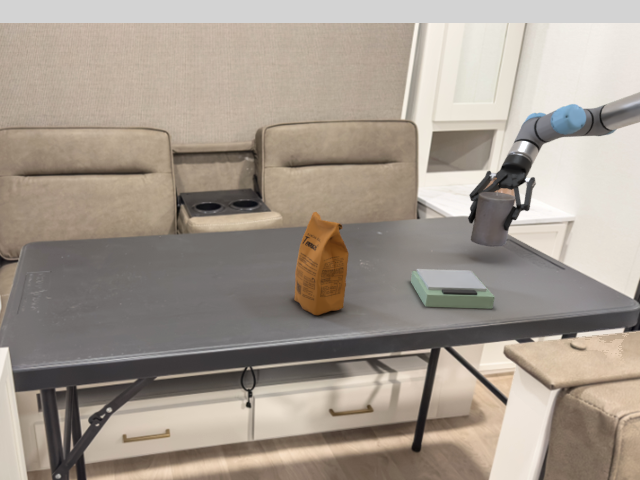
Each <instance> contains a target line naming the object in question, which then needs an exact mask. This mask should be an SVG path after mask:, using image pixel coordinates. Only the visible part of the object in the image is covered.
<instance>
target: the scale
mask: <svg viewBox="0 0 640 480" xmlns="http://www.w3.org/2000/svg"><path fill="white" fill-rule="evenodd" d="M410 283H411V285H412V287H413V288H414V290H415V292H416V294H417V295H418V297H419V298H420V300H421V302H422V304H423V305H424V307H426V308H453V309H455V308H456V309H488V310H491V309H492V310H493V307H494V303H495V297H496V296H495V295H494V294H493V293H492V292H491V291H490V290H489V288H488V287H487V286H486V285H485V284H484V282H482V281H481V279H480V278H479V277H478V276H477V275H476V273H474V272H473V270H471V269H470V270H467V269H438V268H437V269H433V268H431V269H430V268H416V270H411V277H410Z"/></svg>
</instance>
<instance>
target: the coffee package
mask: <svg viewBox="0 0 640 480" xmlns="http://www.w3.org/2000/svg"><path fill="white" fill-rule="evenodd" d="M342 229H343V225H342V224H341V223H339V222H335V221H329V220H325V219H324V220H323V219H322V217H321V215H320V213H318V212H317V211H313V212H312V214H311V217H310V220H309V221H308V223H307V226H306V229H305V232H304V234H303V236H302V239H301V242H300V244H299V247H298V248H299V249H298V254H297V255H298V256H297V260H296V265H295V266H296V267H295V272H294V274H295V275H294V276H295V278H294V280H295V282H294V283H295V284H294V301H295V302H296V303H299V305H300V306H301V308H302V310H304V311H305V312H307V313H310V314H312V315H313V316H321V315H323V314H326V313H329V312H333V311H340V310H342V309H344V303H345V296H346V295H345V294H346V288H347V275H348V263H349V255H350V253H349V251H348V247H347V245H346V244H345V241H344V239H343V238H342V234H341V232H340V230H342Z"/></svg>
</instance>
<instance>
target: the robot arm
mask: <svg viewBox="0 0 640 480" xmlns="http://www.w3.org/2000/svg"><path fill="white" fill-rule="evenodd" d="M638 123H640V91H638V92H636V93H633V94H630V95H628V96H625V97H622V98H619V99H617V100H614V101H611V102H609V103H606V104H603V105H599V106H597V107H593V108H583V107H582V106H579V105H578V104H576V103H571V104H568V105H565V106H561V107H559V108H557V109H556V110H553V111H551V112H549V113H547V114H546V113H544V112H533V113H530V114H529V115H528V116H527V117H526V118H525V120H524V121H523V123H522V125H521V126H520V129H519V131H518V133H517V135H516V137H515V139H514V141H513V144H512V145H511V147H510V149H509V151H508V153H507V154H506V157H505V158H504V161H503V163H502V164H501V167H500V169H499V170H498V171H497V172H492V171H491V170H487V171H486V173H485V175H484V177H483V178H482V179H481V181H479V183H478V184H477V185H476V187H475V188H474V189H473V190H471V192H470V193H469V194H468V195H469V198H470V201H471V202H472V203H471V205H470V207H469V210H470V213H469V214H468V217H467V220H468V222H469V224H472V225H473V224H474V220H475V214H476V209H477V203H478V198H479V194H480V193H482V192H497V191H499V190H501V189H503V190H505V189H506V190H509V191H511V190H513V194H514V196H515V205H514V206H513V207H512V209H511V211H510V213H509V215H508V217H507V219H506V221H505V223H504V225H503V226H504V230H505V231H508V232H509V230H510V227H511V225H512V222H513V221H517V220H518V218H519V216H520V214H521V212H523V211H525V212H528V211H530V209H531V202H532V196H533V189H534V188H535V186H536V184H537V182H536V177H534V176H532V177H528V175H529V173H530V172H531V169H532V166H533V165H534V163H535V161H536V159H537V157H538V155H539V153H540V151H541V149H542V147H543V145H545V144H547V143H550V142H553V141H555V140H558V139H561V138H572V137H574V138H575V137H603V136H609V135H611V134H614V133H615V132H616V131H617V130H619V129H622V128H625V127H628V126H632V125H635V124H638ZM491 182H492V183H491ZM524 184H525V185H526V189H525V194H524V201H523V203H522V199H521V196H520V189H519V187H521V186H522V185H524ZM508 229H509V230H508Z"/></svg>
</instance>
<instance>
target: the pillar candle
mask: <svg viewBox="0 0 640 480" xmlns="http://www.w3.org/2000/svg"><path fill="white" fill-rule="evenodd" d="M515 203H516V200H515V195H512V194H509V193H506V192H501V191H499V190H497V191H495V192H482V193H480V194H479V198H478V203H477V209H476V214H475V219H474V221H473V224H472V231H471V236H470V241H471V242H473V243H474V244H475V245H476V244H477V245H480V246H485V247H494V248H495V247H496V248H497V247H503V246H504V245H506V244H507V241H508V240H507V239H508V236H509V235H508V234H509V231H510V228H509V229H508V231H505V230H504V226H503V225H504V223H505V221H506V219H507V217H508V215H509V213H510V211H511V209H512V207H513V206H515Z"/></svg>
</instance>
